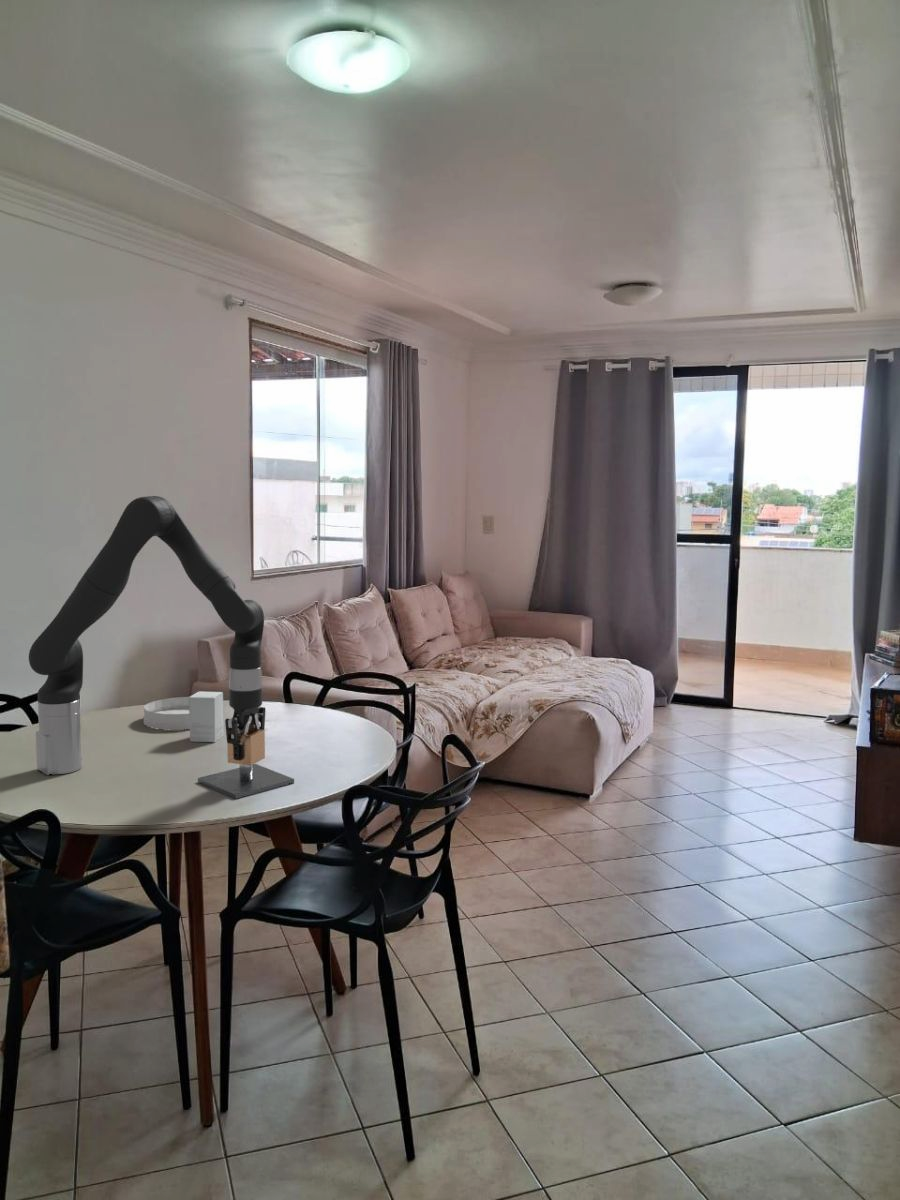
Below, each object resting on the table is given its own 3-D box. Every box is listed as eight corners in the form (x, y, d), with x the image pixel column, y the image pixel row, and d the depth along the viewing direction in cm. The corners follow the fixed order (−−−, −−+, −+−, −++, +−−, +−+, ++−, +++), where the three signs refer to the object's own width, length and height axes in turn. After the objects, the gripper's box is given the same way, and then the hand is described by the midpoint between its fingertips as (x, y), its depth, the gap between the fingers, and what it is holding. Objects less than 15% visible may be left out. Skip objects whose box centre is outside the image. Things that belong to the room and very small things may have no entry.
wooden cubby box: (250, 765, 200) (250, 736, 199) (227, 762, 202) (227, 733, 201) (264, 758, 206) (264, 729, 205) (242, 755, 208) (241, 726, 207)
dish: (193, 708, 274) (192, 693, 274) (236, 721, 261) (235, 704, 260) (128, 721, 257) (128, 705, 257) (171, 735, 243) (170, 718, 243)
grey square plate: (235, 799, 193) (235, 764, 192) (197, 782, 204) (197, 749, 203) (294, 783, 205) (294, 750, 204) (255, 767, 216) (255, 736, 215)
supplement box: (224, 735, 244) (224, 691, 242) (215, 743, 236) (214, 697, 235) (199, 734, 244) (198, 690, 243) (188, 741, 237) (188, 696, 235)
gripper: (243, 693, 194) (243, 766, 196) (275, 681, 207) (275, 749, 209) (214, 691, 196) (215, 762, 198) (248, 678, 210) (248, 746, 212)
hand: (246, 755), depth 204 cm, fingers closed on wooden cubby box, 6 cm apart
